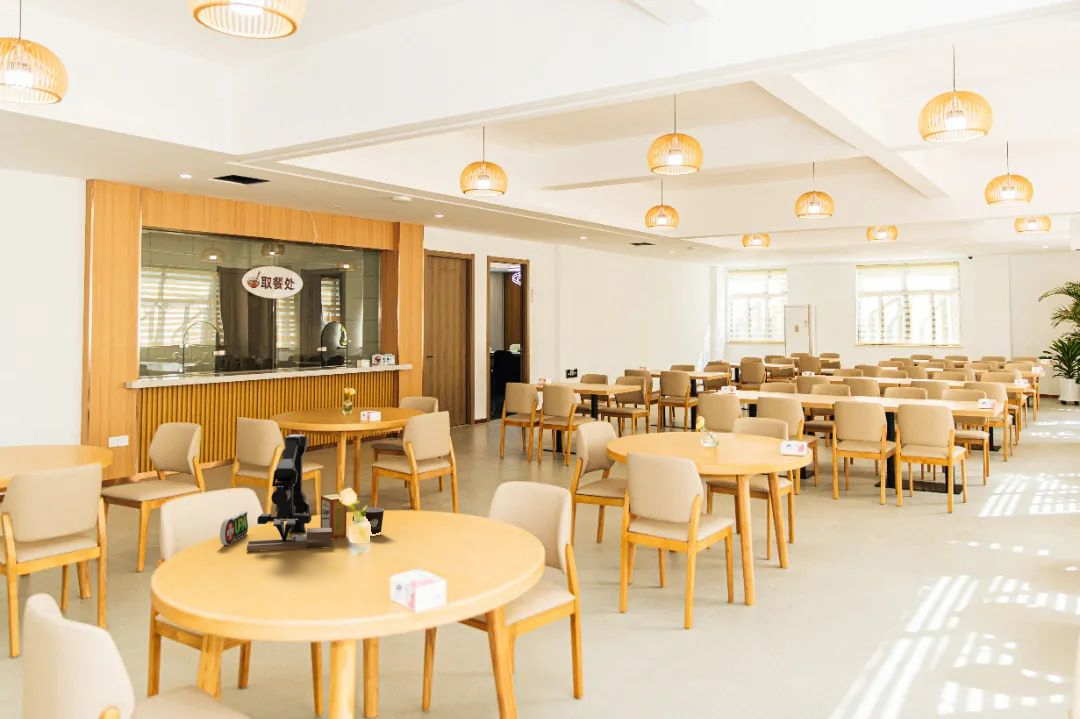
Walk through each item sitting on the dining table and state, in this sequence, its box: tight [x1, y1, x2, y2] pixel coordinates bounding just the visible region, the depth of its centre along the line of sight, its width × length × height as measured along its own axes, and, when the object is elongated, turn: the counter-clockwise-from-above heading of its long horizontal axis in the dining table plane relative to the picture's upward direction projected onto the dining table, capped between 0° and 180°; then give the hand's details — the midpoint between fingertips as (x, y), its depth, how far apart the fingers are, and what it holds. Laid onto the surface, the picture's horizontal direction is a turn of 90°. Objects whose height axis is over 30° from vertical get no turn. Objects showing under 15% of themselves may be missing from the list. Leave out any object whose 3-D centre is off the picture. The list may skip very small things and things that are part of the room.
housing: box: [246, 527, 333, 552], centre depth 293 cm, size 7×30×6 cm, turn 106°
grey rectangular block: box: [292, 534, 307, 542], centre depth 295 cm, size 4×9×4 cm, turn 106°
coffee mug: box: [352, 507, 385, 534], centre depth 315 cm, size 12×9×10 cm
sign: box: [219, 511, 249, 546], centre depth 302 cm, size 22×2×10 cm, turn 179°
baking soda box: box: [320, 493, 348, 539], centre depth 312 cm, size 10×6×16 cm
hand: (284, 541), depth 292 cm, fingers closed
